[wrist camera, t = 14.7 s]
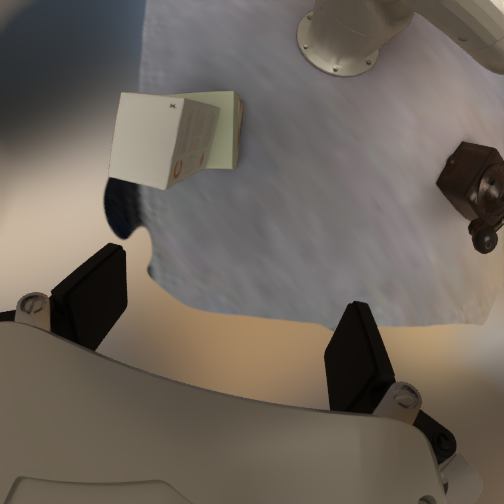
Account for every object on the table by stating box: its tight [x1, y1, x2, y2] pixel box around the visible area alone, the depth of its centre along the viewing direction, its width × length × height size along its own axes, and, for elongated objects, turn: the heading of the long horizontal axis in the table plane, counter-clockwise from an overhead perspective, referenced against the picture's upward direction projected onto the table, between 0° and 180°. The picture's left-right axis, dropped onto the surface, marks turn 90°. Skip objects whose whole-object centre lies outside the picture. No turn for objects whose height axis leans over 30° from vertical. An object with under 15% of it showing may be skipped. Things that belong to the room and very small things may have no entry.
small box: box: [108, 92, 220, 191], centre depth 26 cm, size 8×6×13 cm
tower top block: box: [166, 91, 239, 169], centre depth 34 cm, size 10×10×4 cm
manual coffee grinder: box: [436, 142, 504, 254], centre depth 29 cm, size 16×11×18 cm
